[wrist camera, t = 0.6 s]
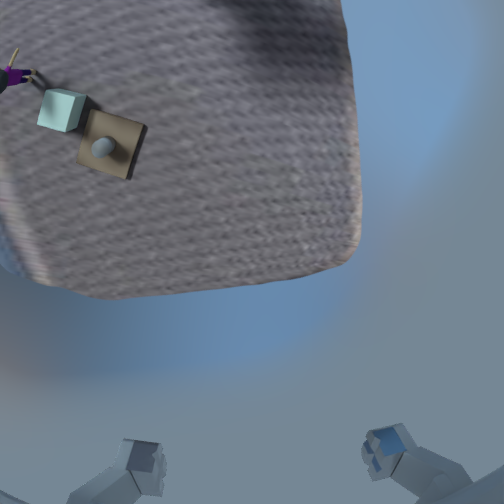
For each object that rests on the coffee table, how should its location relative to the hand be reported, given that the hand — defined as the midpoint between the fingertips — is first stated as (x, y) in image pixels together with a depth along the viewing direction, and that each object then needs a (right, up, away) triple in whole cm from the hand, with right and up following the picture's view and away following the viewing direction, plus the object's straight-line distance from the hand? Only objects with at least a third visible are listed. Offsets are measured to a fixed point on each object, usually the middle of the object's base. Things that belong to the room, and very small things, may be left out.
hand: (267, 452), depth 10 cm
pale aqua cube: (-32, +33, +32) cm, 56 cm away
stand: (-25, +26, +37) cm, 51 cm away
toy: (-39, +39, +28) cm, 61 cm away
